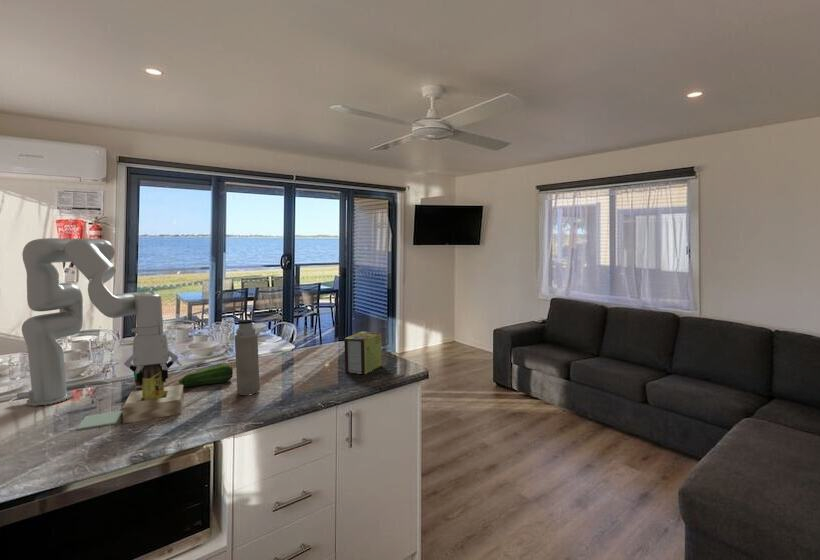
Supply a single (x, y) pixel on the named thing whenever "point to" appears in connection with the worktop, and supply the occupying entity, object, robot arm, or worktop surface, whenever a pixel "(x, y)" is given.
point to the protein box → (362, 352)
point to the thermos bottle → (247, 358)
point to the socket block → (153, 405)
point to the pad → (100, 420)
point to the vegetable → (208, 376)
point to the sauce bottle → (152, 382)
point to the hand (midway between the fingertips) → (152, 381)
